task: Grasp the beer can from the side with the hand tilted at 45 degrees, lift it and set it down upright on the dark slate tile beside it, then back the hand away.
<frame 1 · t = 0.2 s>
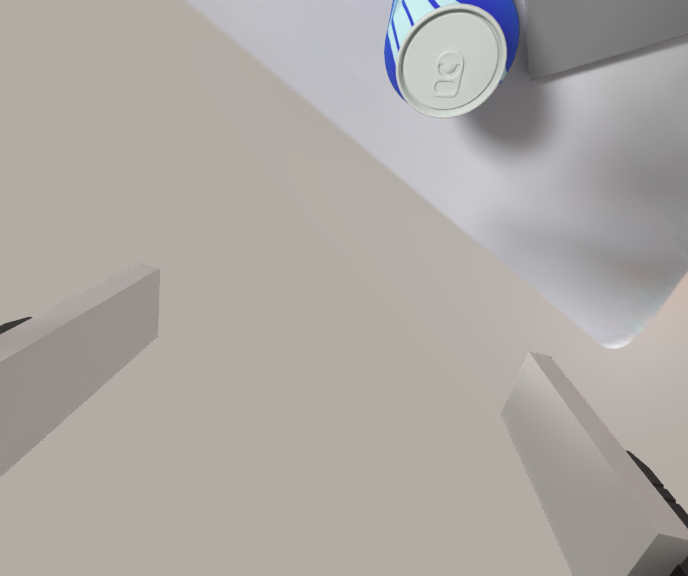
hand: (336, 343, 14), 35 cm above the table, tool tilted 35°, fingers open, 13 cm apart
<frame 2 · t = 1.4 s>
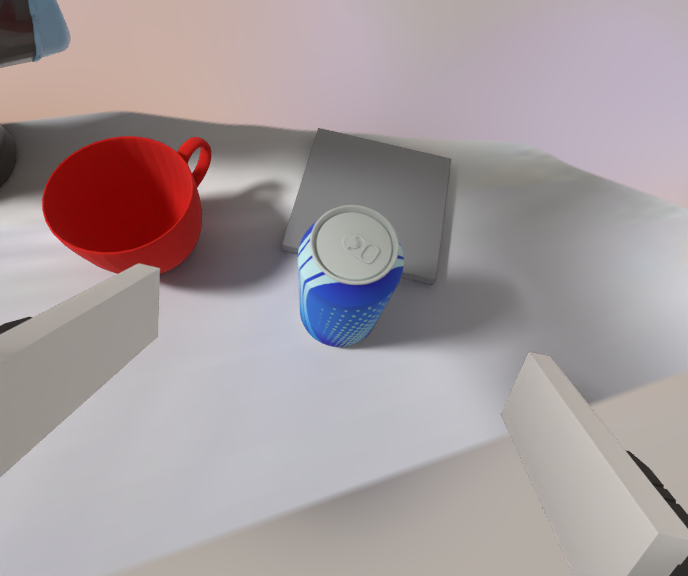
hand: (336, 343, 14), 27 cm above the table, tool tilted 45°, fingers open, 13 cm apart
ceramic cup: (171, 233, 45), on the table
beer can: (337, 313, 43), on the table
slate tile: (370, 205, 49), on the table
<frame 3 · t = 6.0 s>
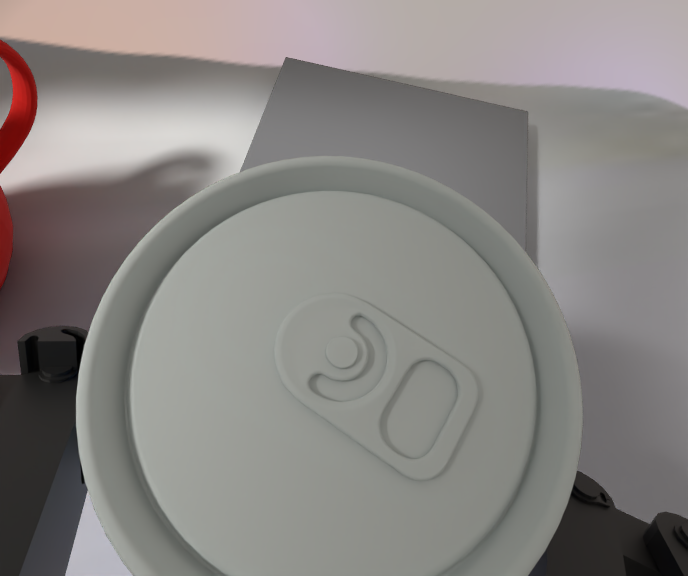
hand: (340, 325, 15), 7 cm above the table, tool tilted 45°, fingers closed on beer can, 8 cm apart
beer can: (316, 425, 20), on the table, touching gripper
slate tile: (383, 196, 26), on the table
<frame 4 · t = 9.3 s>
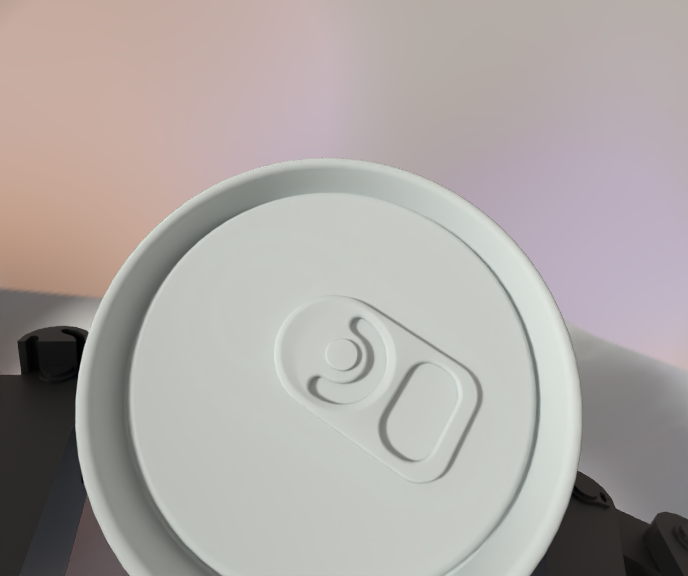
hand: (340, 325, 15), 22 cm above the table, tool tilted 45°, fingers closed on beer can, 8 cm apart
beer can: (316, 426, 20), point 16 cm above the table, touching gripper
when the fingers open (10 cm above the table, at t = 13.0 s): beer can drops 1 cm, resting on slate tile.
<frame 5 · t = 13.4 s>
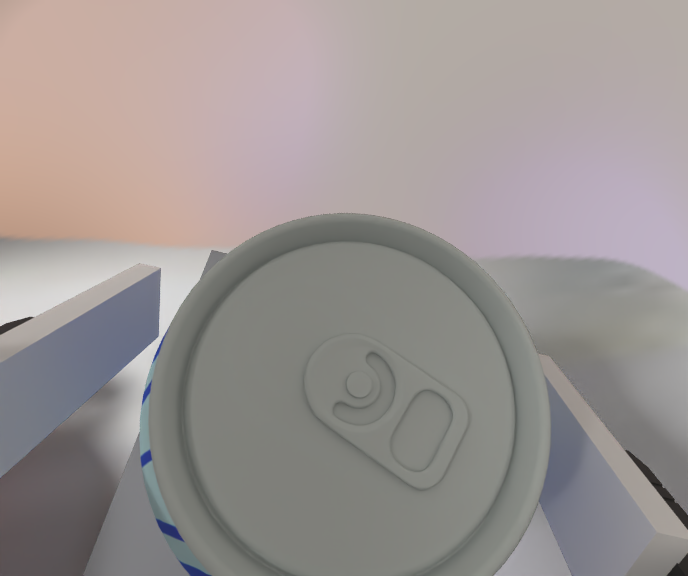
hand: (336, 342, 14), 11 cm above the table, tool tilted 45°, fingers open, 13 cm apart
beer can: (315, 427, 21), point 1 cm above the table, touching slate tile
slate tile: (315, 428, 22), on the table
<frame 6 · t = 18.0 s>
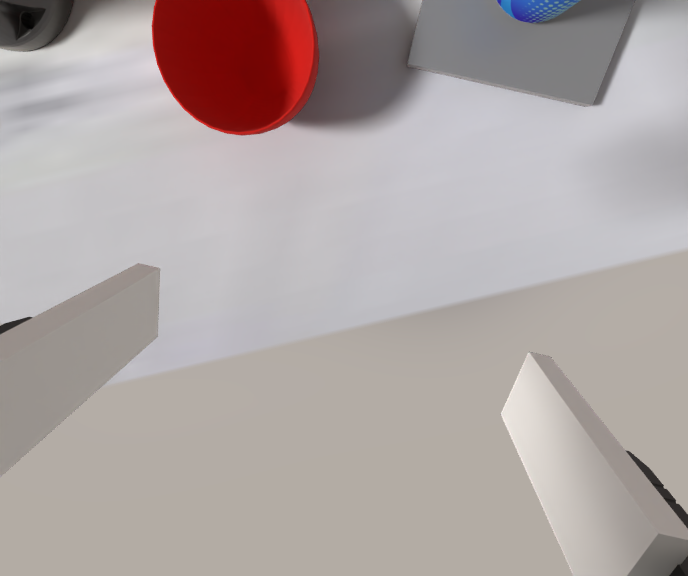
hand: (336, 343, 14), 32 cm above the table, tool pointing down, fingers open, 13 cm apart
ceramic cup: (277, 49, 39), on the table
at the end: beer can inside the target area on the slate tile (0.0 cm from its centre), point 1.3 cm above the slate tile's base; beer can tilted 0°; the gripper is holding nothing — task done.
